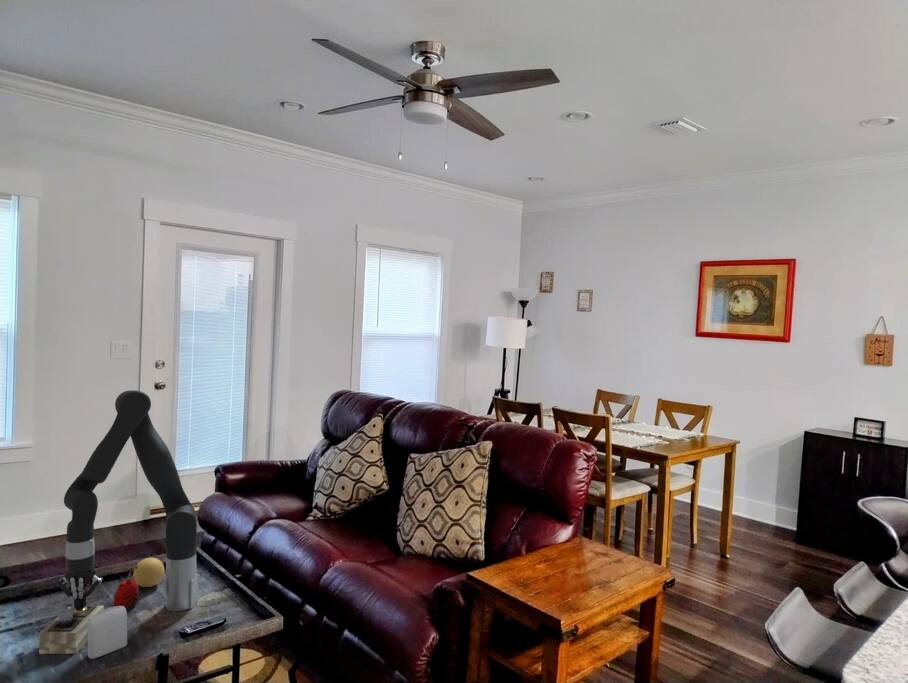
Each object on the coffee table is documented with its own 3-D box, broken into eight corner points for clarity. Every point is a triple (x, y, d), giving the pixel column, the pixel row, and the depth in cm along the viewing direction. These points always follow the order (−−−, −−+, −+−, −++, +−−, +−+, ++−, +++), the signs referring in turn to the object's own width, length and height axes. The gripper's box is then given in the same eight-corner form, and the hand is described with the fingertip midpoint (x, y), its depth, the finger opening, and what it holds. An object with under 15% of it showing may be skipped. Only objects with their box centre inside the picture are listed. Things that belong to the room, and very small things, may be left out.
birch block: (103, 624, 188) (103, 603, 188) (75, 653, 172) (75, 631, 172) (70, 624, 188) (70, 603, 187) (39, 653, 172) (39, 631, 171)
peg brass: (89, 624, 186) (89, 606, 186) (83, 631, 182) (83, 612, 182) (77, 625, 186) (77, 606, 185) (70, 631, 182) (70, 612, 182)
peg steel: (75, 623, 178) (75, 604, 177) (68, 630, 174) (68, 610, 174) (62, 623, 177) (62, 604, 177) (55, 630, 174) (55, 610, 173)
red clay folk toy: (130, 599, 204) (130, 556, 204) (144, 604, 201) (144, 561, 200) (109, 609, 198) (109, 564, 197) (122, 614, 194) (122, 569, 194)
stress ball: (163, 591, 213) (173, 564, 220) (149, 578, 207) (160, 551, 214) (137, 593, 214) (148, 566, 222) (122, 580, 208) (134, 553, 215)
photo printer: (90, 661, 169) (90, 618, 168) (85, 655, 172) (85, 613, 171) (129, 646, 177) (129, 605, 176) (123, 640, 180) (123, 600, 179)
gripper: (109, 548, 187) (108, 603, 188) (64, 548, 186) (64, 603, 187) (96, 558, 180) (96, 615, 180) (50, 558, 179) (50, 615, 179)
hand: (80, 608), depth 184 cm, fingers closed
